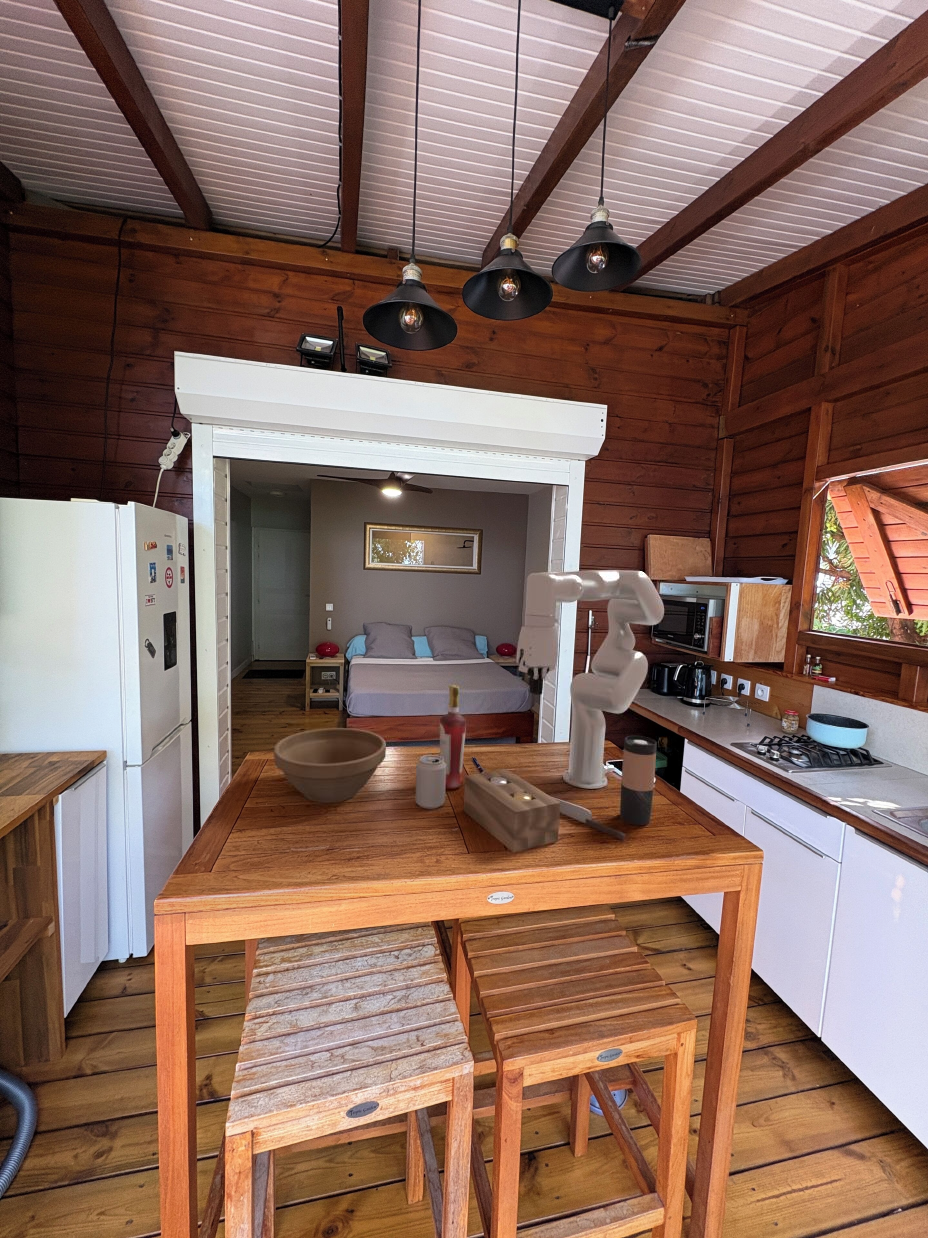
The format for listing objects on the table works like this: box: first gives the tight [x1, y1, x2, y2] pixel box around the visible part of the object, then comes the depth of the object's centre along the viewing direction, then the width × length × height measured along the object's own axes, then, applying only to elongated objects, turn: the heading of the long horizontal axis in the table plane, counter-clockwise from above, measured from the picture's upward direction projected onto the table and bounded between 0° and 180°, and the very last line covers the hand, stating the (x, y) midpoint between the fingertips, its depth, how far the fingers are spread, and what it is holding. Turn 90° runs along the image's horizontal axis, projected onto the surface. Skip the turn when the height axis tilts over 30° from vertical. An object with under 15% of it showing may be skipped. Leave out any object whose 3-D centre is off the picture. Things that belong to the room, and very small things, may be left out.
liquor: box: [439, 685, 467, 790], centre depth 148 cm, size 7×7×28 cm
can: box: [414, 754, 446, 810], centre depth 137 cm, size 8×8×12 cm
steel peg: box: [491, 777, 507, 786], centre depth 131 cm, size 4×4×8 cm
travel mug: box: [619, 735, 657, 826], centre depth 133 cm, size 8×8×20 cm
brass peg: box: [514, 792, 531, 802], centre depth 123 cm, size 4×4×8 cm
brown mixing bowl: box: [273, 727, 387, 804], centre depth 141 cm, size 28×28×13 cm
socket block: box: [463, 768, 561, 854], centre depth 127 cm, size 12×22×9 cm, turn 29°
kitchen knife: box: [549, 795, 627, 841], centre depth 134 cm, size 4×1×30 cm
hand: (535, 693), depth 138 cm, fingers closed
